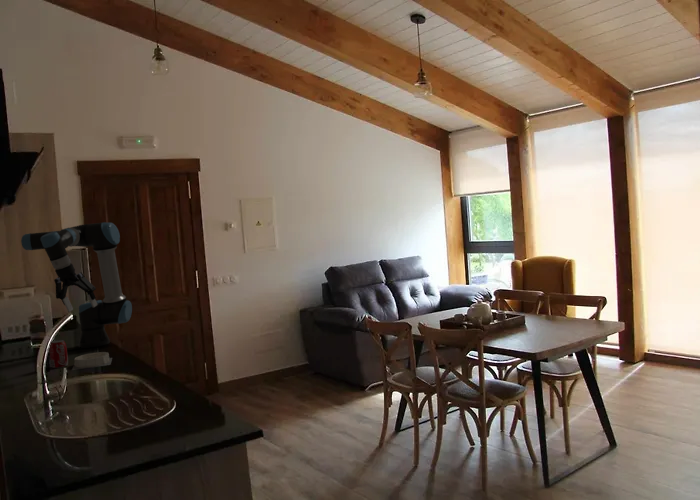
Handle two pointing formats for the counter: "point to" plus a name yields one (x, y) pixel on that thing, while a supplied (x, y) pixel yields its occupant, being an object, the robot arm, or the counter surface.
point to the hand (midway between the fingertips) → (83, 308)
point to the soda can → (58, 354)
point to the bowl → (91, 360)
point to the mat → (95, 366)
